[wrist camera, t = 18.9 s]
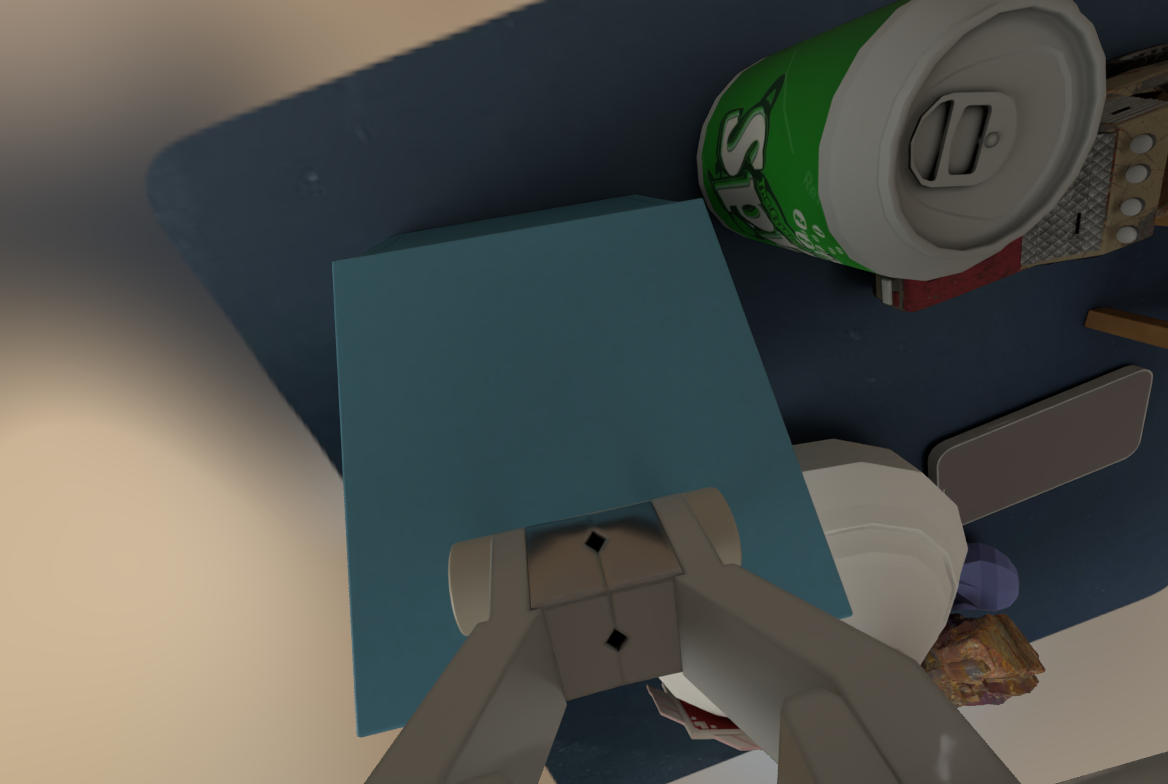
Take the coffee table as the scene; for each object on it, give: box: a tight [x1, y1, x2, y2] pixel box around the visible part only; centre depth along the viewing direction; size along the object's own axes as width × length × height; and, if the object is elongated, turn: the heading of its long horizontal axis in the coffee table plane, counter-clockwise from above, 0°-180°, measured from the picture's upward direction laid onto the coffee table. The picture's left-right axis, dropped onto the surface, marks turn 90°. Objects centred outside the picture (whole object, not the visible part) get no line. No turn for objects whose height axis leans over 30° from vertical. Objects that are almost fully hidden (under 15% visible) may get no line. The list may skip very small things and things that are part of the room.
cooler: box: [358, 194, 676, 257], centre depth 21 cm, size 11×11×8 cm
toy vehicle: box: [871, 42, 1168, 312], centre depth 22 cm, size 7×18×8 cm, turn 109°
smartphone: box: [928, 365, 1153, 525], centre depth 33 cm, size 7×1×15 cm
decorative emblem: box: [647, 682, 762, 751], centre depth 34 cm, size 10×1×10 cm
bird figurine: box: [951, 543, 1019, 611], centre depth 34 cm, size 8×6×6 cm
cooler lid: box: [332, 198, 853, 737], centre depth 11 cm, size 12×11×4 cm
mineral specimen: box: [920, 613, 1045, 708], centre depth 33 cm, size 12×8×7 cm, turn 150°
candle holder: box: [659, 439, 968, 717], centre depth 25 cm, size 20×20×19 cm
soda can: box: [697, 0, 1106, 281], centre depth 18 cm, size 8×8×12 cm
